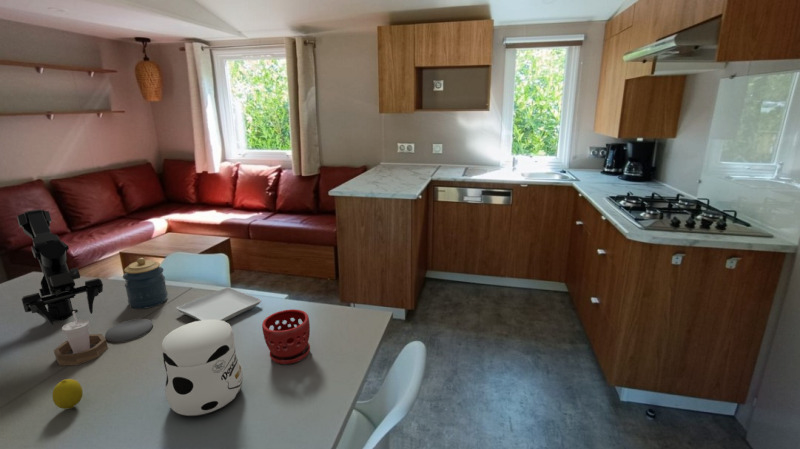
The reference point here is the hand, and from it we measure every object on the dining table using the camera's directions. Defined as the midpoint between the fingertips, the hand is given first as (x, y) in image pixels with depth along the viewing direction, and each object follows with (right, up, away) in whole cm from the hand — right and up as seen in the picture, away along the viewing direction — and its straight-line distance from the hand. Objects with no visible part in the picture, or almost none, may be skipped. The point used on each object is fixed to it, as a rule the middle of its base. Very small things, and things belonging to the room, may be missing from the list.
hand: (72, 318), depth 119 cm
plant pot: (+65, -11, 0) cm, 65 cm away
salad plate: (+32, -4, +26) cm, 42 cm away
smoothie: (+2, -11, +1) cm, 11 cm away
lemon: (+17, -17, -21) cm, 32 cm away
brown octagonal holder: (+2, -11, +1) cm, 11 cm away
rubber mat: (+8, -7, +13) cm, 17 cm away
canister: (+2, -1, +34) cm, 34 cm away
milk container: (+49, -16, -18) cm, 54 cm away
